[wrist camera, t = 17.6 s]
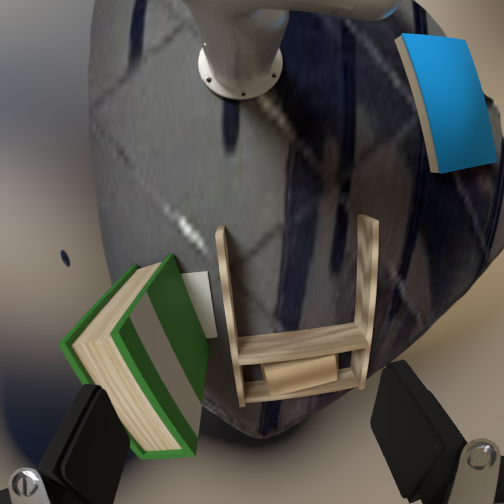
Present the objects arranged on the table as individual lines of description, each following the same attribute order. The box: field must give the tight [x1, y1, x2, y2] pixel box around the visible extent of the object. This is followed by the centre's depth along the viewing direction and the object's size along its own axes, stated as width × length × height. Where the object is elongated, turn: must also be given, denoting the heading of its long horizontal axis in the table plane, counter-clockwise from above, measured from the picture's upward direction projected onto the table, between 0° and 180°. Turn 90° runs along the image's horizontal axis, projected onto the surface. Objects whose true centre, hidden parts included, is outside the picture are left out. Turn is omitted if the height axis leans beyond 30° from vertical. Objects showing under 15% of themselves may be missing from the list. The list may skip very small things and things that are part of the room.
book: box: [395, 34, 497, 174], centre depth 39 cm, size 17×4×25 cm
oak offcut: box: [264, 354, 338, 396], centre depth 49 cm, size 6×12×3 cm, turn 103°
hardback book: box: [59, 253, 210, 459], centre depth 37 cm, size 18×7×24 cm, turn 16°
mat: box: [181, 271, 217, 338], centre depth 49 cm, size 12×14×1 cm
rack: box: [215, 214, 379, 407], centre depth 47 cm, size 31×23×7 cm
